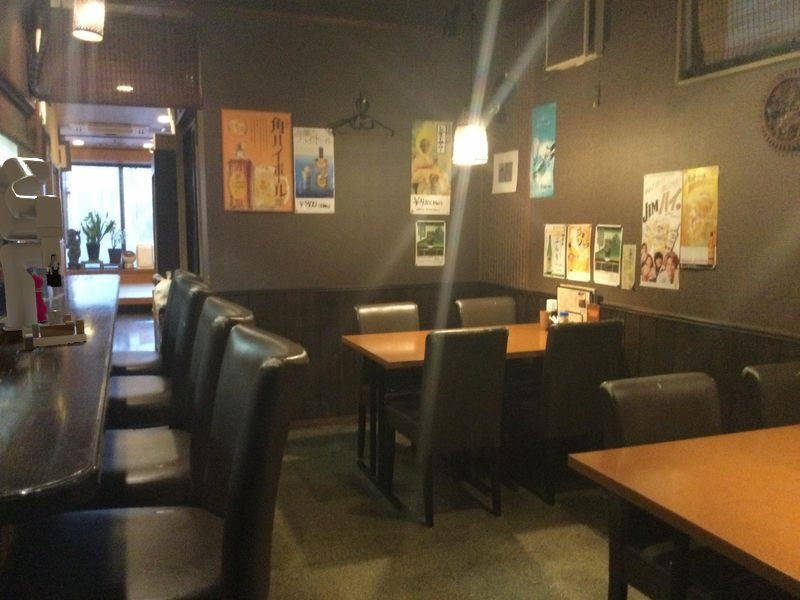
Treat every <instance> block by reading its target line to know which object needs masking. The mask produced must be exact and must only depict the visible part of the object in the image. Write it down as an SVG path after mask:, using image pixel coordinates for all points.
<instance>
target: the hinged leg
mask: <svg viewBox="0 0 800 600" xmlns="http://www.w3.org/2000/svg"><path fill="white" fill-rule="evenodd" d="M75 327H76V324H75V323H74V321H73V320H71V321H68V322H66V324H64V323H62V324H54V325H44V324H42V326H40V336H41V337H43V336H53V335H64V334H75Z"/></svg>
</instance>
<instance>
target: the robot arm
mask: <svg viewBox="0 0 800 600" xmlns="http://www.w3.org/2000/svg"><path fill="white" fill-rule="evenodd" d="M50 179H51V169H50V166H49V164H48V163H47V161H45V160H43V159H40V158H32V157H31V158H29V157H10V158H8V159H6V160H5V161H3V163H2V165H0V236H1V238H2V239H3V240H5V241H10V243H6V244H4V245H2V246H1V247H0V265H1V268H2V272H3V281H4V296H5V305H6V306H5V307H6V316H5V317H1V318H0V324H5V325H4V326H3V327H2V330H3V331H7V332H13V331H14V332H19V331H18V330H22V326H32V324H38V325H43V324H42V323H41V322H40V323H38V322H37V308H36V294H35V282H34V279H33V277H32V276H33V275H32V274H30V273H29V272H28V270H29V269H44V270H46V273H45V277H46V286H47V287H50V288H61V287H62V274H61V270H60V268H62V252H61V250H62V247H61V239H64V238H65V237H64V228H63V227H64V226H63V223H64V222H63V211H62V200H61V198H60V197H59V196H58V195H49V194H47V195H46V194H43V195H42V194H41V195H37V194H38V193H39V192H40V189H41V187H43V186H44V185H45V184H47V183H48V182H49V180H50ZM11 241H13V242H12V243H11ZM19 241H20V242H19ZM21 241H22V242H21ZM25 241H27V242H25ZM29 241H30V242H29ZM31 241H33V242H31Z"/></svg>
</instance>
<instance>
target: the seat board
mask: <svg viewBox="0 0 800 600" xmlns="http://www.w3.org/2000/svg"><path fill="white" fill-rule="evenodd" d="M62 316H63V317H62V320H63V324H66V322H68V321H72V314H63V315H62ZM42 325H49V323H44V324H42ZM42 325H38V324H32V326H22V331H21V332H22V338H23V339H22V340H23V350H24V351H25V352H29V351H28V350H30V351H34V350H35V348H37V346H39V347H48V346H49V345H50V346H59V344H60V345H68V343H70V344H75V343H74V342H80V343H84V342H83V341H87V334H86V331H85V320H84V319H75V334H64V335H53V336H43V337H41V336H40V326H42Z"/></svg>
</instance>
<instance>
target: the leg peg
mask: <svg viewBox="0 0 800 600" xmlns="http://www.w3.org/2000/svg"><path fill="white" fill-rule="evenodd" d="M47 313H48V324H49V325H54V324H63V317H62V316H63V315H62V310H61V309H60V310H58V309H56V310H55V309H54V310H47Z"/></svg>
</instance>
